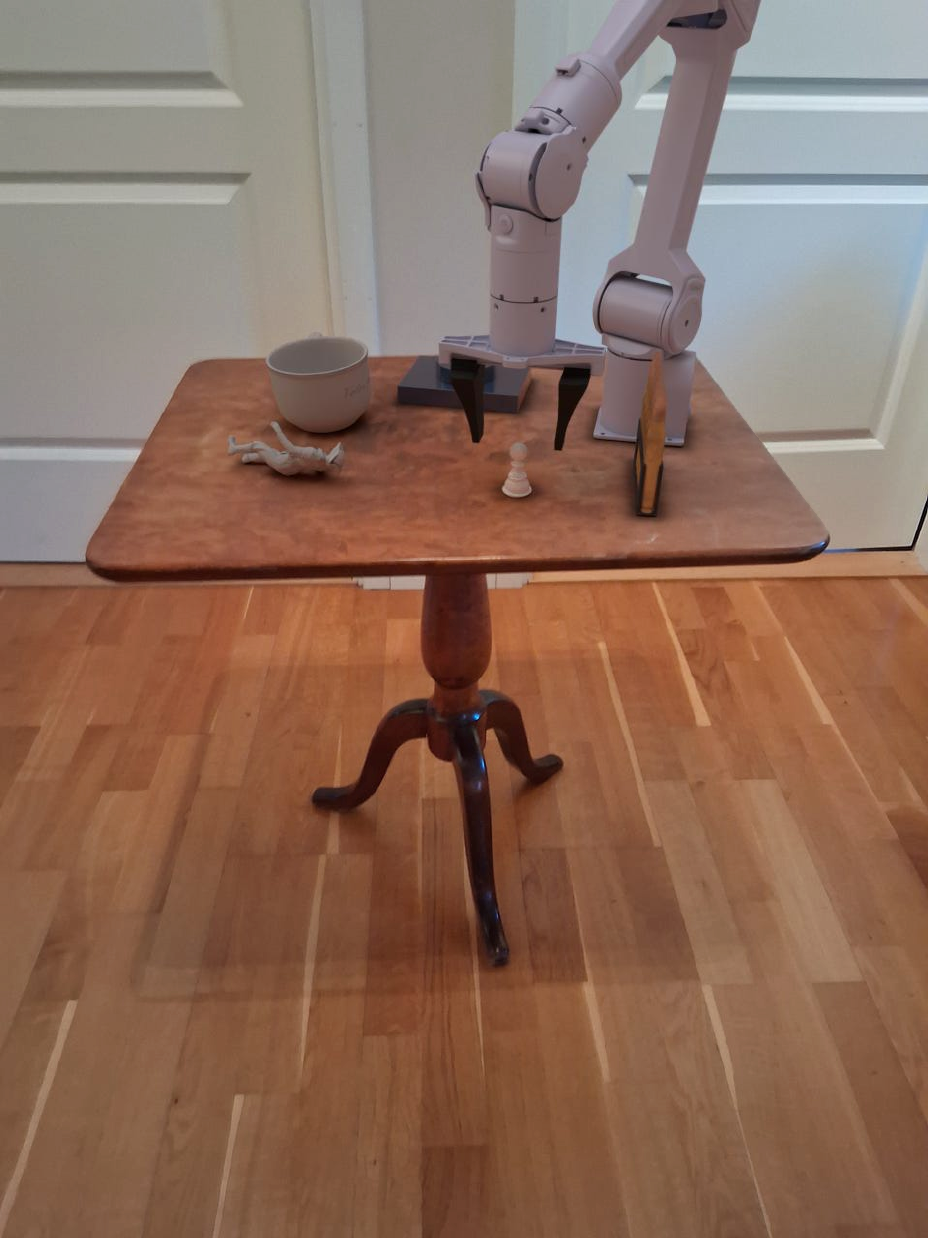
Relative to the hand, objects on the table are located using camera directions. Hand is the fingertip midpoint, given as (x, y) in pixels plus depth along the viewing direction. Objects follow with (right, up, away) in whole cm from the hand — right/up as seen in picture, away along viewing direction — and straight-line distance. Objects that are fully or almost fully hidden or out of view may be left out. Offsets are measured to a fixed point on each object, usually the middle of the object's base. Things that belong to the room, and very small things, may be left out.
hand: (518, 442), depth 83 cm
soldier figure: (-23, -2, +6) cm, 24 cm away
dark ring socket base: (-5, +10, +23) cm, 26 cm away
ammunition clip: (+12, -4, +3) cm, 13 cm away
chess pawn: (0, -4, +3) cm, 5 cm away
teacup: (-21, +6, +18) cm, 28 cm away
